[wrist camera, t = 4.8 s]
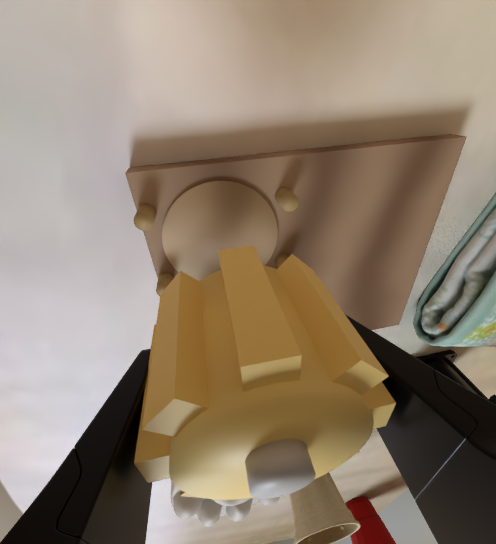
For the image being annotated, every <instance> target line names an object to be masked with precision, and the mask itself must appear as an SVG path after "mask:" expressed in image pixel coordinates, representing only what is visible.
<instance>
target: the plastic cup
mask: <svg viewBox="0 0 496 544" xmlns="http://www.w3.org/2000/svg"><path fill="white" fill-rule="evenodd" d="M345 505H346V506H347V508H348V509H349V510H350V511H351V513H352V515H353V517H354V519H355V520H356V521H358V522H359V523H360V528H359V529H358V530H357V531H356V532H355V533H353V534H352V535H350V536H351V540H352V544H396V543H395V541H394V540H393V538H392V537H391V535H390V533H389V532H388V530H387V528H386V527H385V525H384V523H383V522H382V520H381V518H380V517H379V515H378V514H377V512H376V511H375V509H374V507H373V506H372V504H371V502H370V501H369V500H368V498H367V497H359V498H356V499H353V500H351V501H349V502H347V503H346V504H345Z"/></svg>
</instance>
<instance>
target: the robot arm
mask: <svg viewBox="0 0 496 544" xmlns="http://www.w3.org/2000/svg"><path fill="white" fill-rule="evenodd" d="M345 315H346V314H345ZM346 317H347V318H348V320H349V321H350V322H351V324H352V325H353V327H354V328H355V329H356V331H357V332H358V334H359V335H360V336H361V338H362V339H363V341H364V342H365V343H366V345H367V346H368V348H369V349H370V350H371V352H372V353H373V355H374V356H375V357H376V359H377V360H378V362H379V363H380V364H381V366H382V367H383V369H384V370H385V371H386V373H387V374H388V376H389V377H387V378H386V379H384V380H383V381H382V383H383V384H384V386H385V387H386V389H387V390H388V392H389V393H390V395H391V396H392V398H393V399H394V401H395V402H396V405H395V407H394V409H393V411H392V414H391V416H390V418H389V420H388V422H387V425H386V426H384V427H380V428H377V430H378V432H379V434H380V436H381V438H382V440H383V441H384V443H385V445H386V447H387V449H388V451H389V453H390V454H391V456H392V458H393V460H394V462H395V464H396V466H397V468H398V469H399V471H400V473H401V475H402V477H403V479H404V481H405V482H406V484H407V486H408V488H409V490H410V492H411V494H412V495H413V497H414V499H415V500H416V503H417V505H418V507H419V509H420V511H421V513H422V515H423V516H424V518H425V520H426V522H427V524H428V526H429V528H430V529H431V531H432V533H433V535H434V537H435V539H436V541H437V542H438V544H496V395H495V394H494V395H493V396H491V397H490V399H488V398H487V397H486V396H485V395H484V394H483V393H482V392H481V391H480V390H479V389H478V388H477V387H476V386H475V385H474V384H473V383H472V382H471V381H470V380H469V379H468V378H467V377H466V376H465V375H464V374H463V373H462V372H461V371H460V370H459V369H458V368H457V367H456V366H455V365H454V364H453V361H454V359H455V358H456V356H457V353H456V352H455V351H448V352H444V353H439V354H434V355H430V356H425V357H420V358H415V357H414V356H412V355H410V354H409V353H407V352H405V351H404V350H402V349H401V348H399V347H397V346H396V345H394V344H393V343H391V342H389V341H388V340H386V339H384V338H383V337H381V336H380V335H378V334H376V333H375V332H373V331H372V330H370V329H368V328H367V327H365V326H363V325H362V324H360V323H359V322H357V321H355V320H354V319H352V318H350V317H349V316H347V315H346ZM150 351H151V349H147V350H142V351H141V352H140V353H139V355H138V356H137V357H136V359H135V360H134V362H133V363H132V365H131V366H130V367H129V369H128V370H127V372H126V373H125V375H124V376H123V377H122V379H121V380H120V382H119V383H118V385H117V386H116V388H115V389H114V390H113V392H112V393H111V395H110V396H109V398H108V399H107V400H106V402H105V403H104V405H103V406H102V408H101V409H100V410H99V412H98V413H97V415H96V416H95V418H94V419H93V420H92V422H91V423H90V425H89V426H88V428H87V429H86V430H85V432H84V433H83V435H82V436H81V438H80V439H79V440H78V442H77V443H76V445H75V448H73V449H72V450H71V452H70V453H69V455H68V456H67V457H66V459H65V460H64V462H63V463H62V464H61V466H60V467H59V469H58V470H57V471H56V473H55V474H54V475H53V477H52V478H51V480H50V481H49V482H48V484H47V485H46V486H45V487H44V489H43V490H42V491H41V493H40V494H39V495H38V496H37V498H36V499H35V500H34V501H33V503H32V504H31V505H30V507H29V508H28V509H27V510H26V511H25V513H24V514H23V515H22V516H21V518H20V519H19V520H18V521H17V523H16V524H15V525H14V527H13V528H12V529H11V530H10V531H9V532H8V534H7V535H6V536H5V538H4V539H3V540H2V541H1V542H0V544H145V541H146V532H147V523H148V514H149V506H150V497H151V488H152V482H150V483H147V481H146V480H145V478H144V477H143V476H142V474H141V473H140V471H139V470H138V468H137V467H136V466H135V464H134V460H135V453H136V446H137V440H138V433H139V426H140V419H141V412H142V406H143V399H144V392H145V385H146V381H147V376H148V368H149V358H150Z"/></svg>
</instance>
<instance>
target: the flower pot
mask: <svg viewBox="0 0 496 544" xmlns="http://www.w3.org/2000/svg"><path fill="white" fill-rule="evenodd" d="M290 501H291V507H292V514H293V520H294V529H293V531H294V539H295V542H294V543H293V544H333V543H335V542H337V541H340V540H342V539H345V538H346V537H348V536H350V535H352V534H353V533H355V532H356V531H357V530H358V529H359V528H360V523H359V522H358V521H356V520H355V519H354V517H353V515H352V513H351V511H350V510H349V509H348V508H347V506H346V505H345V503H344V501H343V499H342V497H341V495H340V493H339V491H338V489H337V487H336V485H335V483H334V481H333V479H332V477H331V475H330V473H329V472H328V473H327V474H325V475H323V476H321V477H319V478H316V479H314V480H313V481H312V482H311V483H310V484H308V485H307V486H306V487H304V488H302V489H300V490H298V491H296V492H293V493H291V494H290Z"/></svg>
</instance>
